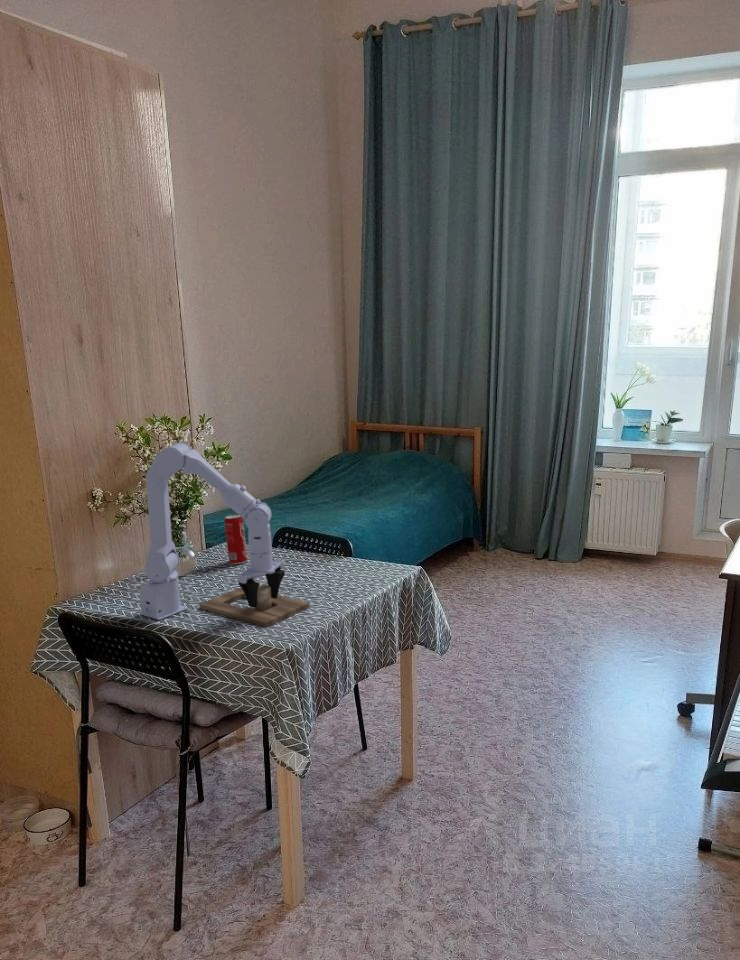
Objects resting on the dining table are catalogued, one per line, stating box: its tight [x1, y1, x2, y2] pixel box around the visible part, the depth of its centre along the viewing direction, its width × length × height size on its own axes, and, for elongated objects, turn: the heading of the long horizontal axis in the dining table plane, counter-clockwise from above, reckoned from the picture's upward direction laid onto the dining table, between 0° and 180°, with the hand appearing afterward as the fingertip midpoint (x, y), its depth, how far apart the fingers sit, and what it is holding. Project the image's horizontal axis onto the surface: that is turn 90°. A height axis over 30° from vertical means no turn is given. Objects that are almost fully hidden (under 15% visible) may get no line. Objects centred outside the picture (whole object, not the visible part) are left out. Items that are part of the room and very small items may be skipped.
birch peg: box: [254, 584, 272, 611], centre depth 190 cm, size 4×4×6 cm
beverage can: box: [223, 513, 249, 565], centre depth 231 cm, size 6×6×15 cm
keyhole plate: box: [199, 587, 310, 628], centre depth 192 cm, size 16×24×1 cm, turn 54°
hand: (263, 602), depth 190 cm, fingers open, 7 cm apart
